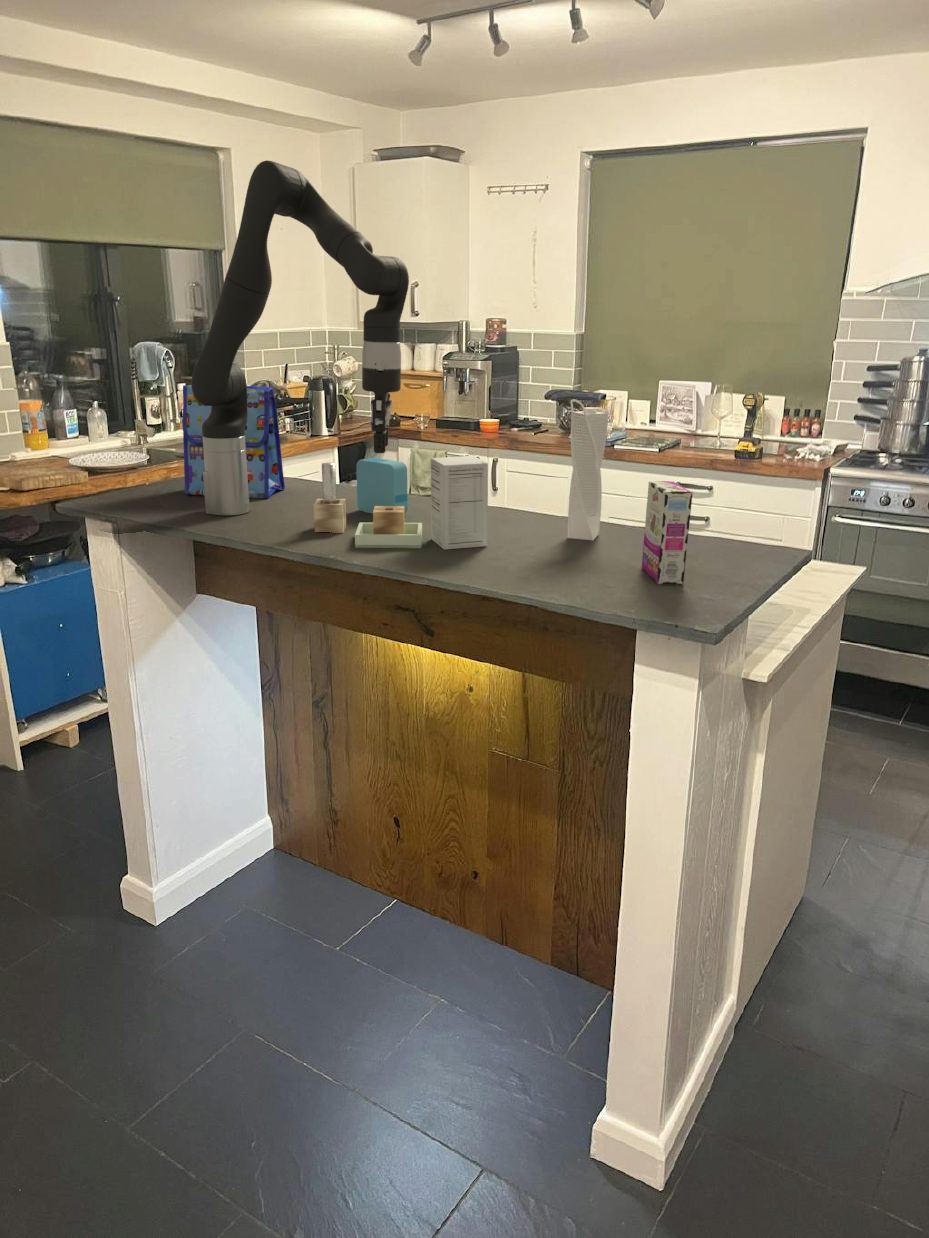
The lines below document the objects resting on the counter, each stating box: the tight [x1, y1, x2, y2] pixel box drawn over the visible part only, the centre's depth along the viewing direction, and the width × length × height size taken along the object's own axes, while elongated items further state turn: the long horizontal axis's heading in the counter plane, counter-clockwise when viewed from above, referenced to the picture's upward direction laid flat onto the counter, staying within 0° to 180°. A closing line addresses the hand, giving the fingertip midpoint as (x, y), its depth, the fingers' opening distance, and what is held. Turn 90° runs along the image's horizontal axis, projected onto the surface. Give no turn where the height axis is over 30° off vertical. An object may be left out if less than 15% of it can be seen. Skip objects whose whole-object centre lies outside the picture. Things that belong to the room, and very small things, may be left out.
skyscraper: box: [567, 398, 609, 541], centre depth 191 cm, size 8×8×28 cm
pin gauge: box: [321, 462, 337, 504], centre depth 197 cm, size 3×3×14 cm
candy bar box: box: [641, 480, 694, 586], centre depth 165 cm, size 11×5×16 cm, turn 5°
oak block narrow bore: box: [372, 506, 406, 534], centre depth 189 cm, size 6×6×6 cm
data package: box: [355, 457, 408, 515], centre depth 213 cm, size 12×4×12 cm, turn 50°
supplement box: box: [430, 455, 489, 551], centre depth 186 cm, size 10×9×17 cm
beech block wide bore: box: [313, 498, 347, 534], centre depth 198 cm, size 6×6×6 cm
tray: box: [354, 522, 423, 549], centre depth 189 cm, size 13×11×3 cm
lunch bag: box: [181, 384, 286, 499], centre depth 231 cm, size 22×14×29 cm, turn 82°
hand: (381, 449), depth 187 cm, fingers open, 8 cm apart
